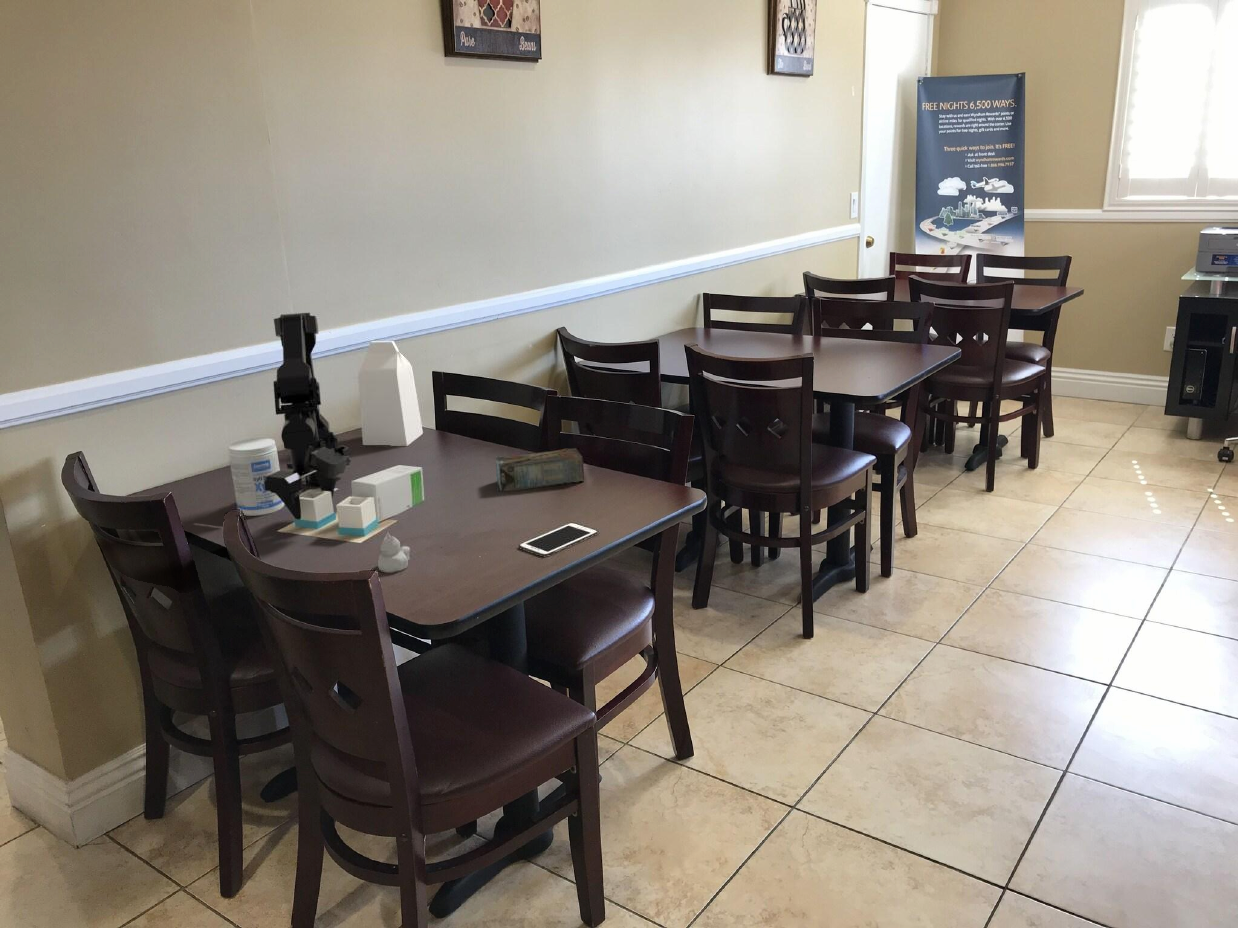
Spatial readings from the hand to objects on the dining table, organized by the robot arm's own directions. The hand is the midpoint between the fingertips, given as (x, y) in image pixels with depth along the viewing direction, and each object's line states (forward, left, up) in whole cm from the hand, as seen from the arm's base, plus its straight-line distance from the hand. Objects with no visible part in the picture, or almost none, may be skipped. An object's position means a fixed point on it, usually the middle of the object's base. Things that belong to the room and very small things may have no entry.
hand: (313, 511), depth 191 cm
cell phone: (+50, +8, -4) cm, 51 cm away
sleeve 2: (+11, -1, -2) cm, 11 cm away
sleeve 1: (0, 0, -2) cm, 3 cm away
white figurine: (+29, -13, -4) cm, 32 cm away
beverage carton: (+31, +38, -4) cm, 49 cm away
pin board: (+6, 0, -4) cm, 7 cm away
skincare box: (+11, +19, +1) cm, 22 cm away
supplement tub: (-18, +5, -4) cm, 20 cm away
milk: (-22, +58, -4) cm, 62 cm away
